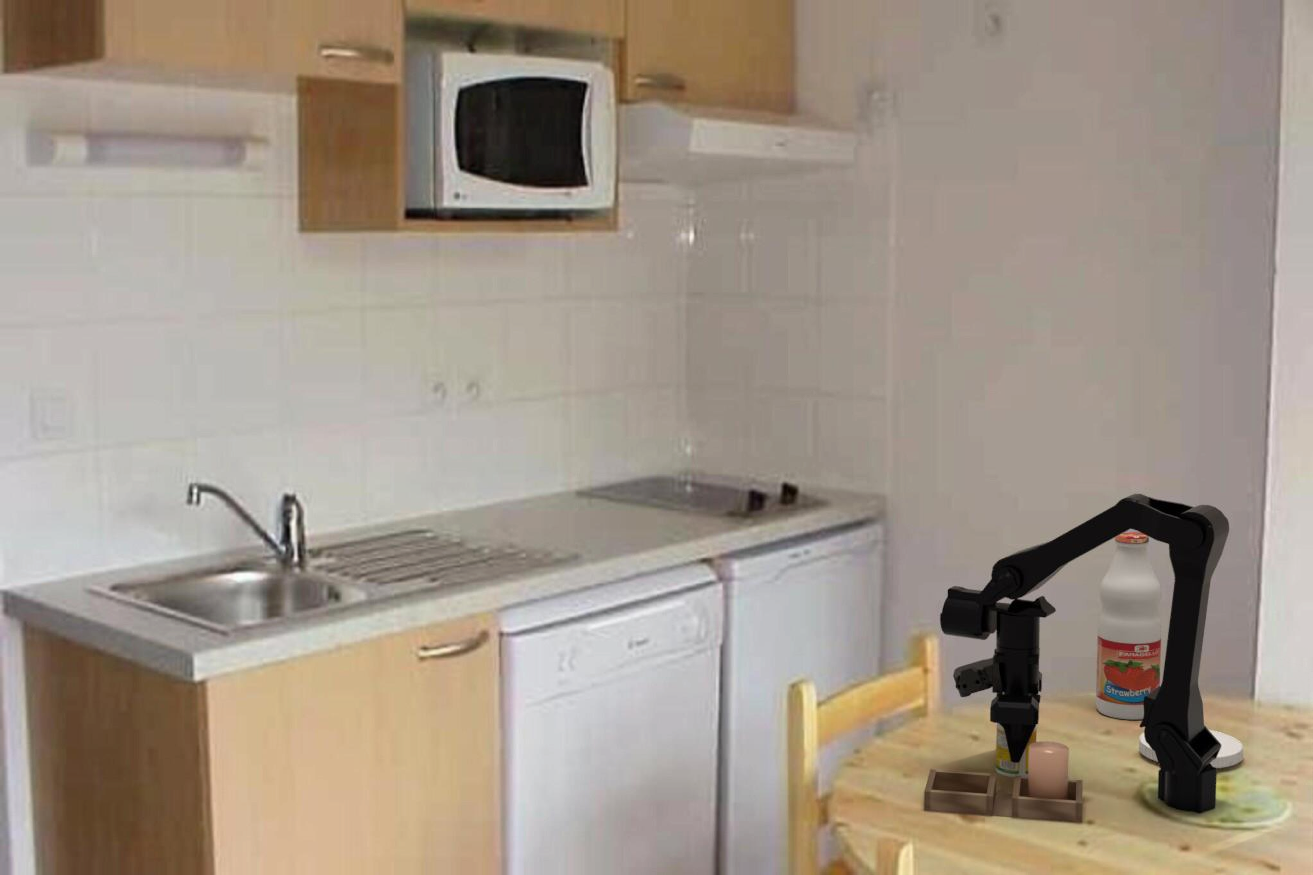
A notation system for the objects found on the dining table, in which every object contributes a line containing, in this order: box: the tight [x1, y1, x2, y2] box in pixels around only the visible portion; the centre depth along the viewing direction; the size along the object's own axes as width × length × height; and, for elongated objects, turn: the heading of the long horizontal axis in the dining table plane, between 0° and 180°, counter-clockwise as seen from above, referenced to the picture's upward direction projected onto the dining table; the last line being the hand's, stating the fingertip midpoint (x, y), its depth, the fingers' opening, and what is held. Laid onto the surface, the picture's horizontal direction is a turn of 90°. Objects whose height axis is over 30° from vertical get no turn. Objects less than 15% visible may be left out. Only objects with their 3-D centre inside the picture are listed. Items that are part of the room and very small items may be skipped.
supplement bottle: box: [995, 723, 1038, 778], centre depth 223 cm, size 5×5×10 cm
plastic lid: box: [1138, 729, 1244, 769], centre depth 231 cm, size 14×14×2 cm
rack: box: [923, 768, 1084, 824], centre depth 210 cm, size 20×9×4 cm, turn 75°
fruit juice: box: [1095, 530, 1162, 721], centre depth 250 cm, size 9×9×28 cm
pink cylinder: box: [1028, 740, 1070, 800], centre depth 209 cm, size 5×5×8 cm
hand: (1016, 755), depth 223 cm, fingers closed on supplement bottle, 5 cm apart
